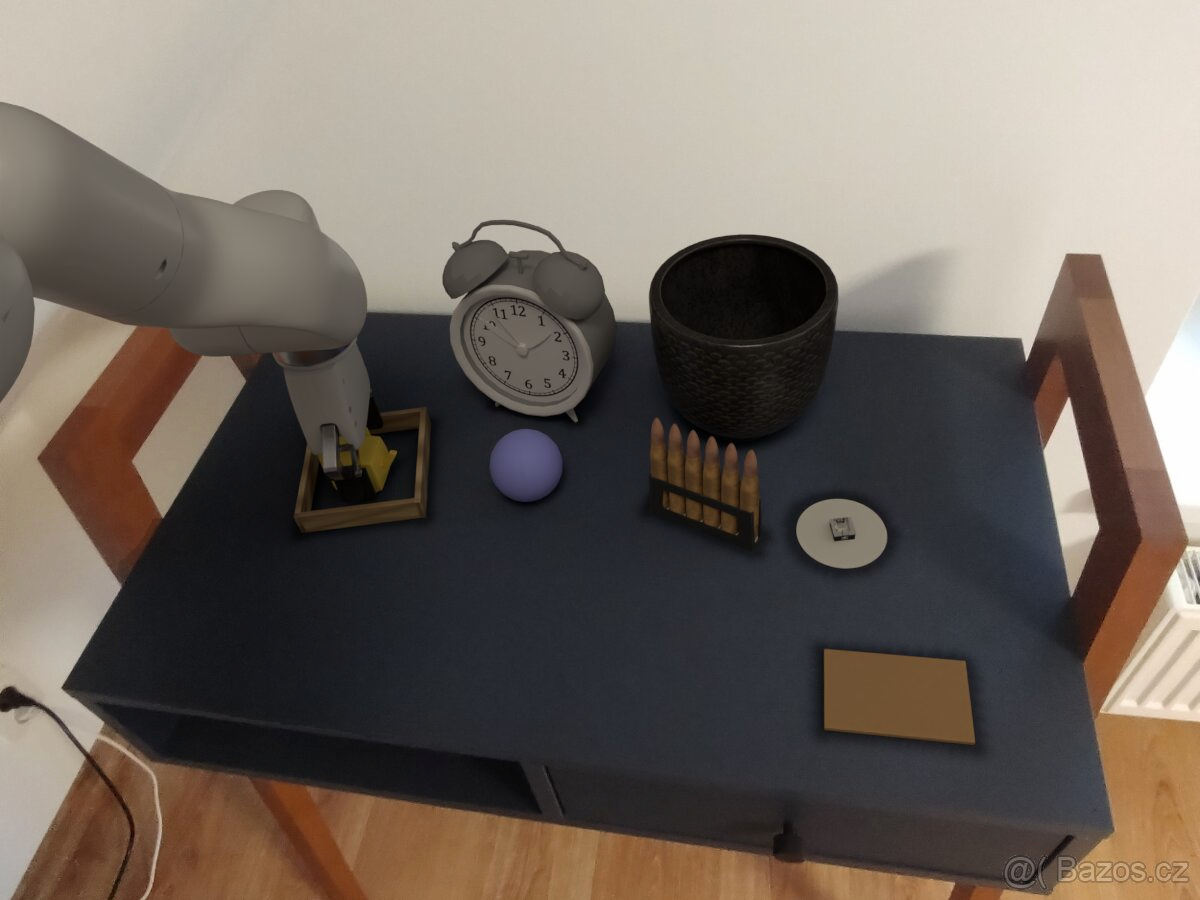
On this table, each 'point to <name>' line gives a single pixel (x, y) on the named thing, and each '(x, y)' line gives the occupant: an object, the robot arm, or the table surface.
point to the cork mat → (897, 696)
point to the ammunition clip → (705, 487)
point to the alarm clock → (528, 323)
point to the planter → (743, 332)
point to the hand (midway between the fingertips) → (364, 462)
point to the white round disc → (841, 533)
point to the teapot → (370, 459)
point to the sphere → (525, 465)
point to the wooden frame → (372, 511)
